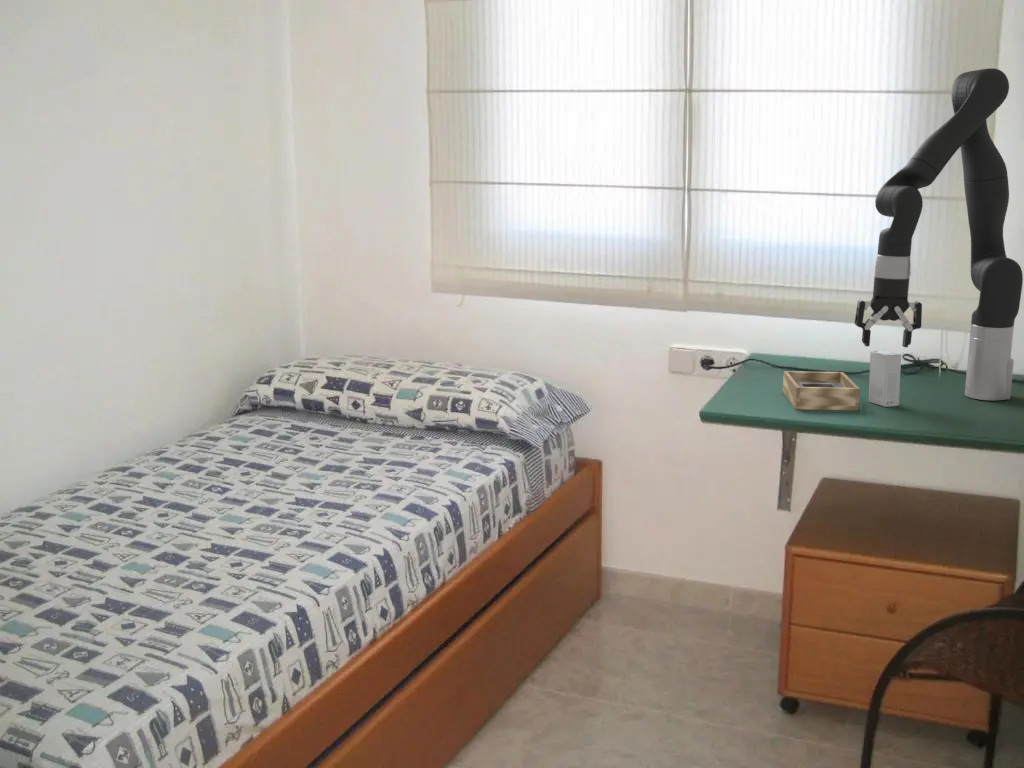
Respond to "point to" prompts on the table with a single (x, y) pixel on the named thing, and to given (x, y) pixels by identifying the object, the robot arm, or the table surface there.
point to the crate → (821, 390)
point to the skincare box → (884, 378)
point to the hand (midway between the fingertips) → (885, 346)
